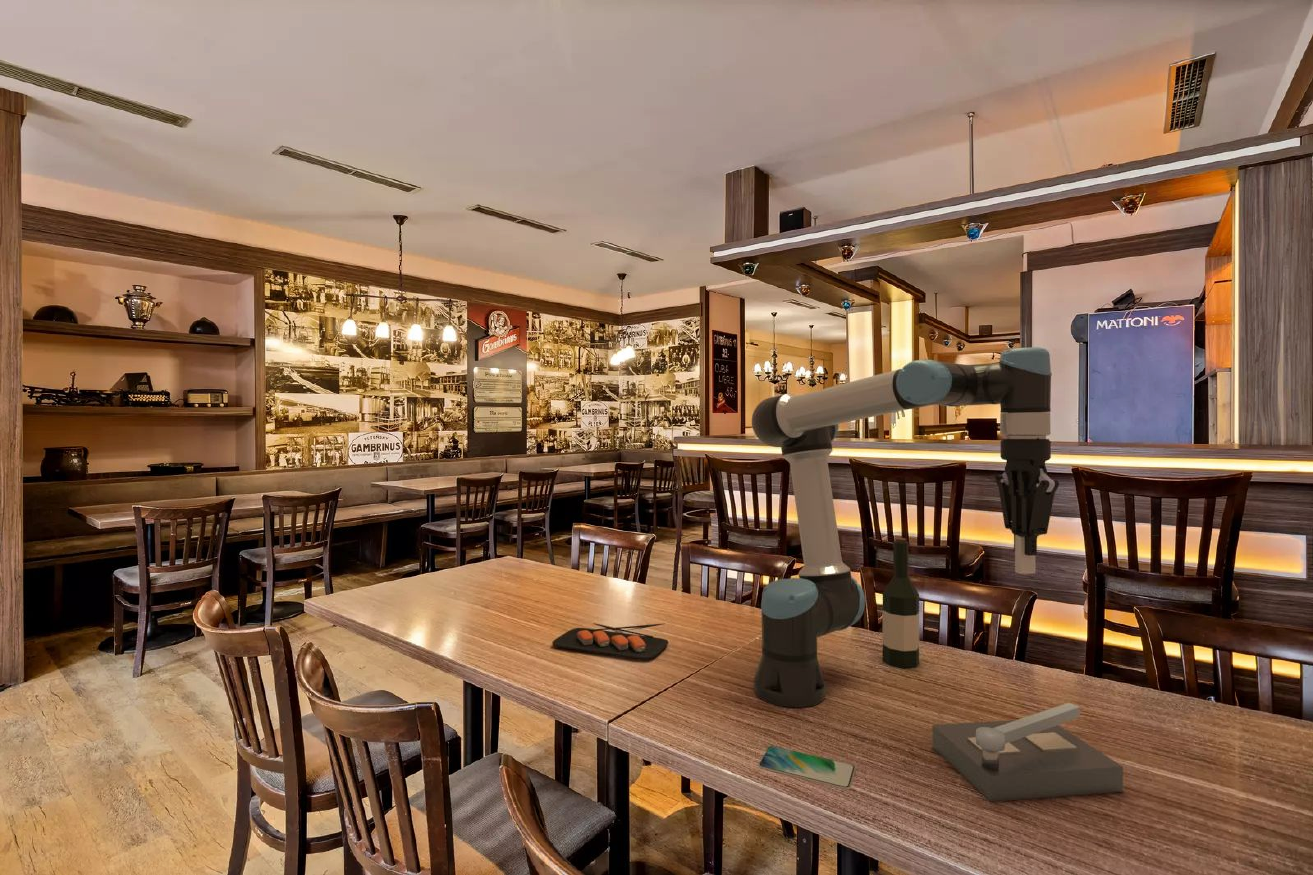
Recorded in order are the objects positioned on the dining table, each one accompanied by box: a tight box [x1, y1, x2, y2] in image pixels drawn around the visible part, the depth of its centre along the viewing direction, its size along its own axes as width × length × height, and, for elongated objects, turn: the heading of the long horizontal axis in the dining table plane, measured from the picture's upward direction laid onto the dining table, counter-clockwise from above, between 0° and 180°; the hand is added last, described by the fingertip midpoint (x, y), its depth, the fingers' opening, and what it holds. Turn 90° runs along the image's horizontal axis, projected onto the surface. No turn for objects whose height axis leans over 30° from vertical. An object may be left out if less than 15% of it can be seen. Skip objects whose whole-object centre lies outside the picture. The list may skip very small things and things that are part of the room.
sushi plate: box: [551, 622, 669, 660], centre depth 168 cm, size 29×30×4 cm
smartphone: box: [757, 745, 857, 791], centre depth 103 cm, size 7×1×15 cm
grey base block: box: [932, 719, 1124, 803], centre depth 103 cm, size 22×16×7 cm
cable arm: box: [976, 702, 1081, 751], centre depth 101 cm, size 24×4×2 cm, turn 116°
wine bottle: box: [882, 537, 920, 670], centre depth 148 cm, size 8×8×30 cm
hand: (1025, 572), depth 107 cm, fingers closed
